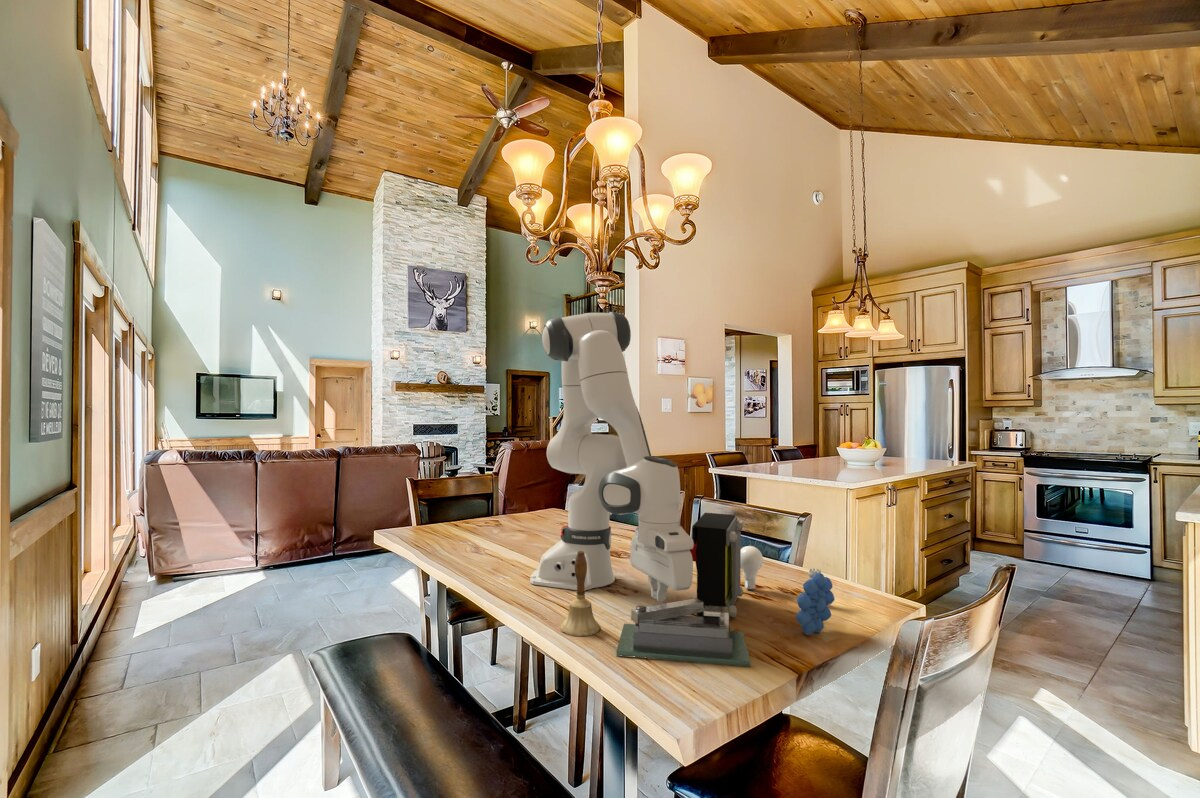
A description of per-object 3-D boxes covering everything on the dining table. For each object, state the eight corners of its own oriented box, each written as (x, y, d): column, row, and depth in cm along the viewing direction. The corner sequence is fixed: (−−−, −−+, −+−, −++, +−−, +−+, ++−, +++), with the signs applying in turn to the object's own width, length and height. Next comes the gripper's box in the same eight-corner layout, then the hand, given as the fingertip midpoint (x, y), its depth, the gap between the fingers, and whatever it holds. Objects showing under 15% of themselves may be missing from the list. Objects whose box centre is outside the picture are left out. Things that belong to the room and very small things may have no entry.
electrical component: (735, 623, 116) (735, 530, 117) (688, 617, 120) (688, 526, 120) (743, 597, 133) (743, 515, 133) (701, 592, 136) (702, 512, 137)
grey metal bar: (637, 624, 104) (637, 610, 104) (631, 619, 107) (631, 606, 107) (703, 611, 111) (703, 599, 111) (695, 607, 113) (695, 595, 113)
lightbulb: (760, 586, 142) (760, 543, 142) (765, 594, 135) (765, 549, 136) (735, 585, 142) (735, 542, 142) (739, 593, 136) (739, 548, 136)
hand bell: (603, 635, 110) (604, 555, 110) (563, 638, 108) (564, 557, 108) (595, 619, 118) (596, 545, 118) (557, 622, 116) (558, 547, 116)
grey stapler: (616, 656, 100) (616, 615, 100) (624, 628, 113) (624, 592, 113) (750, 666, 97) (750, 624, 97) (742, 636, 109) (742, 599, 110)
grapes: (812, 619, 119) (812, 564, 119) (841, 629, 114) (842, 572, 114) (780, 632, 112) (780, 573, 112) (810, 643, 107) (810, 582, 107)
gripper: (623, 525, 124) (622, 586, 123) (671, 545, 105) (670, 617, 105) (648, 523, 126) (647, 583, 126) (698, 542, 108) (698, 613, 107)
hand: (658, 599), depth 115 cm, fingers closed
